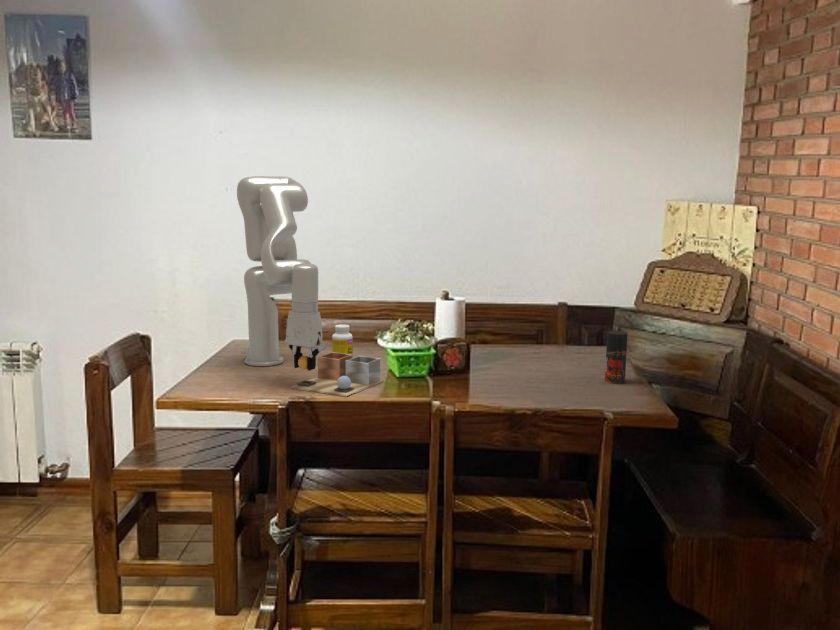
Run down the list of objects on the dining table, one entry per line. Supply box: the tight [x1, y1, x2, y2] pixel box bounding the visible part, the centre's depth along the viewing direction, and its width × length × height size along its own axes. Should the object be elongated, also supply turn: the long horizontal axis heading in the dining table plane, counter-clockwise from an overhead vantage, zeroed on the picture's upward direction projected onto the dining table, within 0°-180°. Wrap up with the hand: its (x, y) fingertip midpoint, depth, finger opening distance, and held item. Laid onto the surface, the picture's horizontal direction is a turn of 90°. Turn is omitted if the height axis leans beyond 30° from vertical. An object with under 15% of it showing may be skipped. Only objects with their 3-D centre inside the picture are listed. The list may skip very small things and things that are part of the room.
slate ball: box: [337, 376, 351, 390], centre depth 231 cm, size 4×4×4 cm
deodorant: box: [604, 330, 628, 385], centre depth 245 cm, size 6×6×15 cm
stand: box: [290, 351, 384, 396], centre depth 238 cm, size 19×20×7 cm
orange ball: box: [298, 355, 309, 370], centre depth 237 cm, size 4×4×4 cm
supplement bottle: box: [331, 324, 354, 355], centre depth 263 cm, size 7×7×13 cm
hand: (304, 367), depth 237 cm, fingers closed on orange ball, 3 cm apart
